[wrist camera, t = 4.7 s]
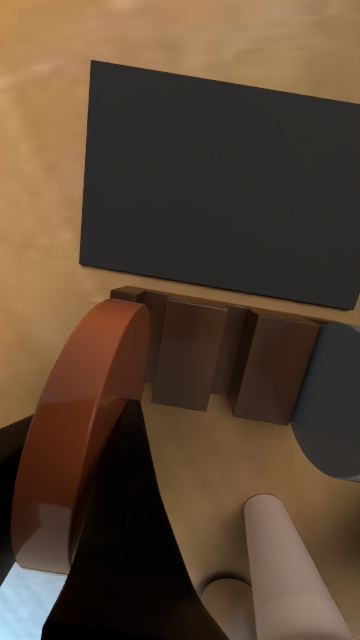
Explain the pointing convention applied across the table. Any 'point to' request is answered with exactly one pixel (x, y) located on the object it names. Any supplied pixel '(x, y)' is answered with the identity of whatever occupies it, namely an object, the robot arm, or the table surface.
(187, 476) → the table surface
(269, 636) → the smoothie
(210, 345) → the coaster rack
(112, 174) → the grey mat
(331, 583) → the table surface
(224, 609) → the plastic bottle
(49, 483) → the terracotta coaster
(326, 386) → the blue-grey coaster
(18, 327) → the table surface
